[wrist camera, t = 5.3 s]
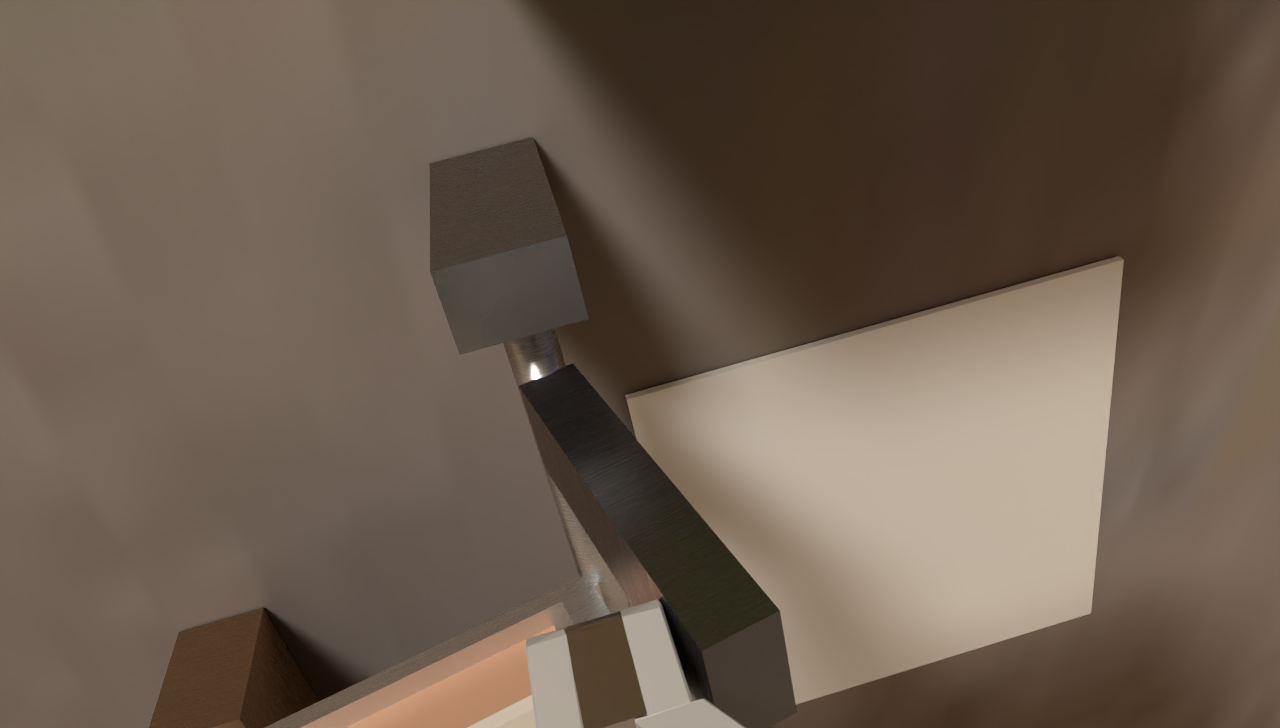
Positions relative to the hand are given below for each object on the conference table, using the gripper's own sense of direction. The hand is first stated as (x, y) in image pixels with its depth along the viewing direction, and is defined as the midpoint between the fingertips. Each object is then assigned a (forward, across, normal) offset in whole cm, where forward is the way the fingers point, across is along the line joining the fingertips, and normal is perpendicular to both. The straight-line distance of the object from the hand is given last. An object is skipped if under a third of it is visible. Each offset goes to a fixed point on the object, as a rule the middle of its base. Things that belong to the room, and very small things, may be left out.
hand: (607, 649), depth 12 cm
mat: (+9, -8, +8) cm, 14 cm away
